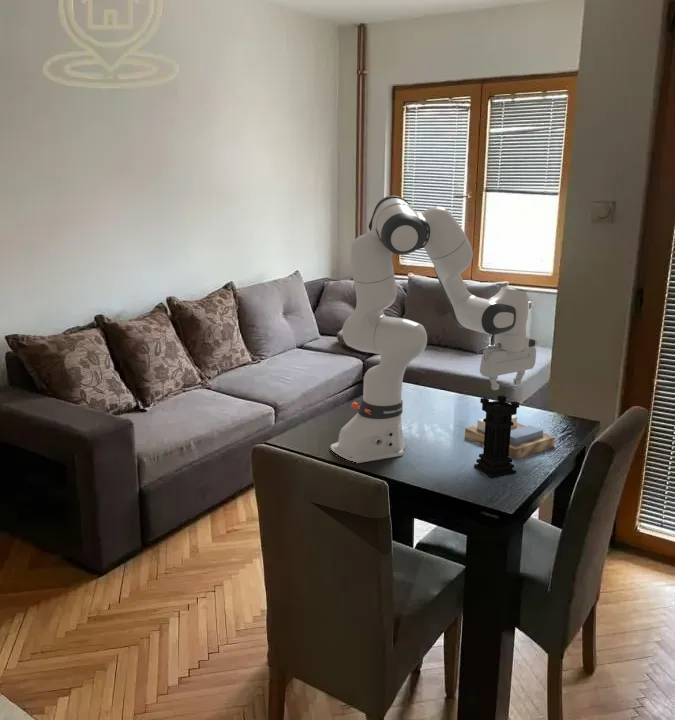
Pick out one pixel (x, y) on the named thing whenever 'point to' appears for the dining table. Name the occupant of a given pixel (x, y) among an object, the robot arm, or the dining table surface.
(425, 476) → the dining table surface
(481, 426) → the ivory key
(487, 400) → the chess piece
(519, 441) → the blue-grey rectangular block
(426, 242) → the robot arm
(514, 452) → the key console
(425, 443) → the dining table surface
